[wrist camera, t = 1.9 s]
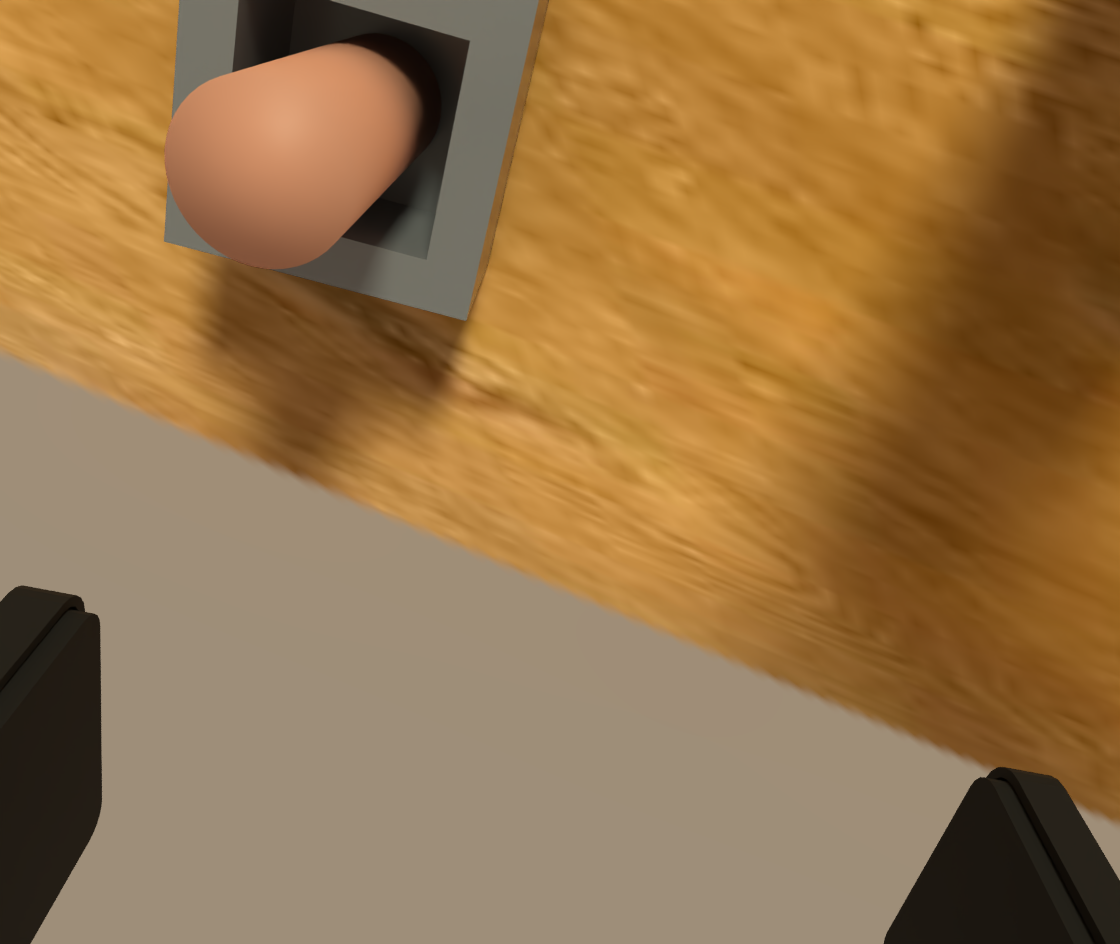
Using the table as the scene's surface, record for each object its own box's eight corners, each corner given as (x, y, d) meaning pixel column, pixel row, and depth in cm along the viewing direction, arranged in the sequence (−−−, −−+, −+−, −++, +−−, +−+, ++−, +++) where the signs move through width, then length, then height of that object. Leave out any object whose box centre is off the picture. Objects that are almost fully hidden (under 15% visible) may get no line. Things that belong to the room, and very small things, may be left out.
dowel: (326, 17, 29) (171, 47, 19) (452, 53, 30) (369, 103, 19) (309, 147, 31) (158, 242, 21) (428, 180, 32) (340, 289, 21)
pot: (263, -97, 29) (186, -110, 23) (551, -11, 30) (539, -5, 24) (234, 196, 33) (164, 241, 28) (487, 264, 34) (466, 320, 28)
